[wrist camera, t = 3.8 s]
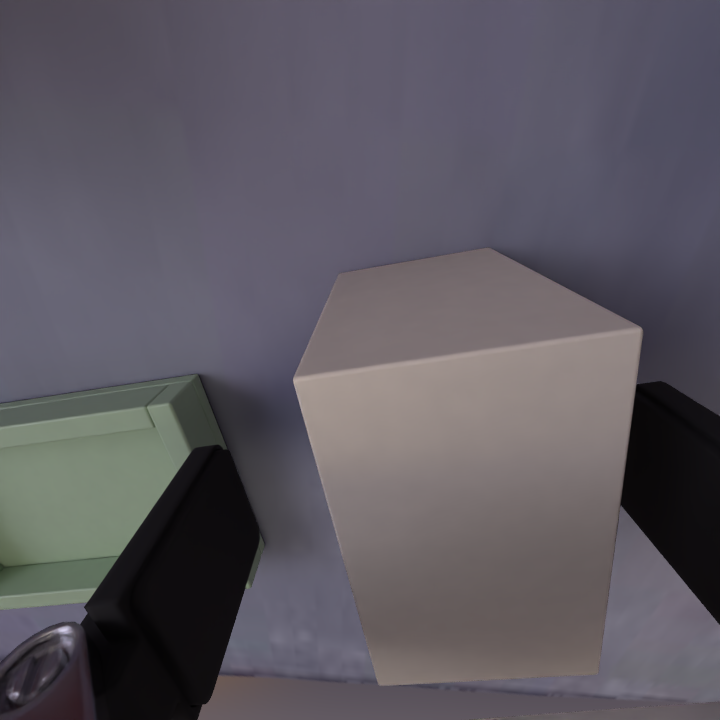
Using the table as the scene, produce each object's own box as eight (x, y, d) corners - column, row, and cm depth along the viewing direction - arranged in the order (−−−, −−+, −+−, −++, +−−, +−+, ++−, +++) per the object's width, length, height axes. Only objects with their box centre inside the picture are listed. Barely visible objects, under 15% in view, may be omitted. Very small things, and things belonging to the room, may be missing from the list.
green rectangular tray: (198, 373, 13) (169, 403, 11) (265, 544, 16) (251, 589, 15) (-113, 419, 14) (-184, 453, 13) (8, 569, 18) (-34, 613, 16)
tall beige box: (489, 246, 11) (647, 327, 5) (497, 454, 14) (599, 675, 8) (331, 273, 12) (276, 380, 5) (372, 468, 14) (369, 688, 8)
